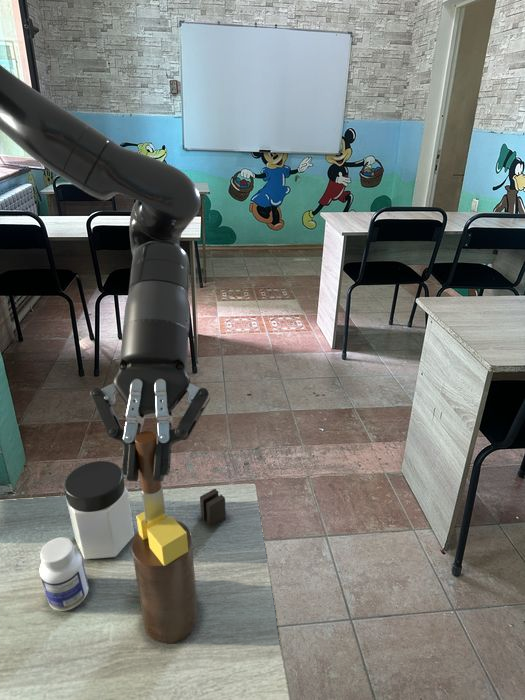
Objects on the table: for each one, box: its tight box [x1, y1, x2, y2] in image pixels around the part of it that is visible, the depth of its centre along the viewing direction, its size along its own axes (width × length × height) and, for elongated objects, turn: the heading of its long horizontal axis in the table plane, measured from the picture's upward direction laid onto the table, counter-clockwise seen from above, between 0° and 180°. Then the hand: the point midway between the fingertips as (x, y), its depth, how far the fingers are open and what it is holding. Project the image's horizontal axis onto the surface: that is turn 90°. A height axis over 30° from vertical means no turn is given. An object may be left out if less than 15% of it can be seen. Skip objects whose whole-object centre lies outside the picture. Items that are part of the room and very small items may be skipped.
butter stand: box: [131, 519, 199, 644], centre depth 60 cm, size 7×7×14 cm
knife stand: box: [199, 488, 227, 528], centre depth 78 cm, size 3×3×4 cm
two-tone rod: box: [135, 430, 166, 525], centre depth 53 cm, size 2×2×12 cm
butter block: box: [147, 515, 188, 566], centre depth 55 cm, size 3×3×3 cm
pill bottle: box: [38, 536, 89, 612], centre depth 64 cm, size 5×5×9 cm
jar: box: [63, 460, 135, 560], centre depth 72 cm, size 9×8×12 cm
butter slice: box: [135, 511, 167, 540], centre depth 58 cm, size 1×3×3 cm, turn 131°
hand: (145, 480), depth 51 cm, fingers closed on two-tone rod, 2 cm apart
